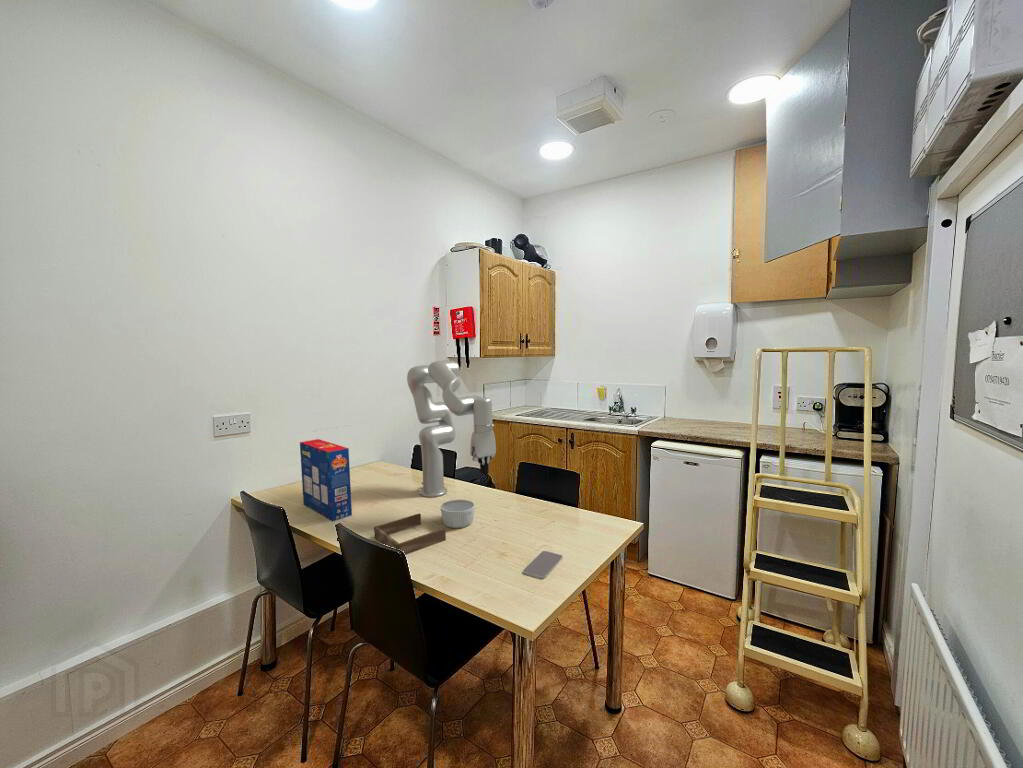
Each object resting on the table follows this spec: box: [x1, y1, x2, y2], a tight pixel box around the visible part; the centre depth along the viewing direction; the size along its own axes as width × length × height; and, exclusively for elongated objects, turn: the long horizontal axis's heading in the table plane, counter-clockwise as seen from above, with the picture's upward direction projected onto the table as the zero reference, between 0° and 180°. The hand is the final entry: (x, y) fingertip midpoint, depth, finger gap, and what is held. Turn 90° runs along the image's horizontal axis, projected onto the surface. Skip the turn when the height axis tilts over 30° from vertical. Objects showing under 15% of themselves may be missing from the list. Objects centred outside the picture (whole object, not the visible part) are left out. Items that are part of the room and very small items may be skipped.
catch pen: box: [373, 512, 447, 555], centre depth 147 cm, size 19×18×4 cm
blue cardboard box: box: [299, 438, 353, 522], centre depth 174 cm, size 28×8×28 cm, turn 48°
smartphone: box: [522, 550, 563, 580], centre depth 128 cm, size 7×1×15 cm
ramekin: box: [440, 499, 476, 529], centre depth 160 cm, size 13×13×7 cm
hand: (484, 473), depth 167 cm, fingers closed
